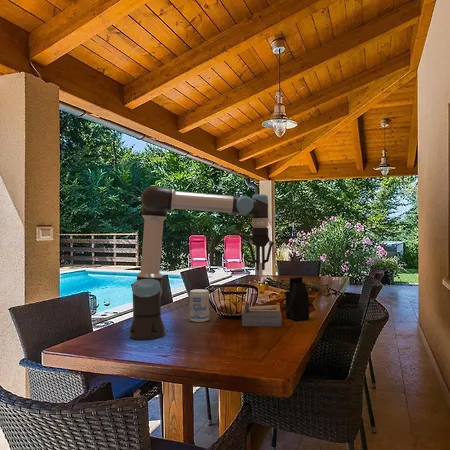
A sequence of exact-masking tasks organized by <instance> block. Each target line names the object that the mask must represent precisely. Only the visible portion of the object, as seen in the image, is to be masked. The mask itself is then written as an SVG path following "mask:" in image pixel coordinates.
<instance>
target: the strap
mask: <svg viewBox="0 0 450 450" xmlns="http://www.w3.org/2000/svg"><path fill="white" fill-rule="evenodd" d="M267 308H276V304H271V305H269V304H268V305H258V306H257V305H256V306H249V307H248V310H252V309H267Z"/></svg>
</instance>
